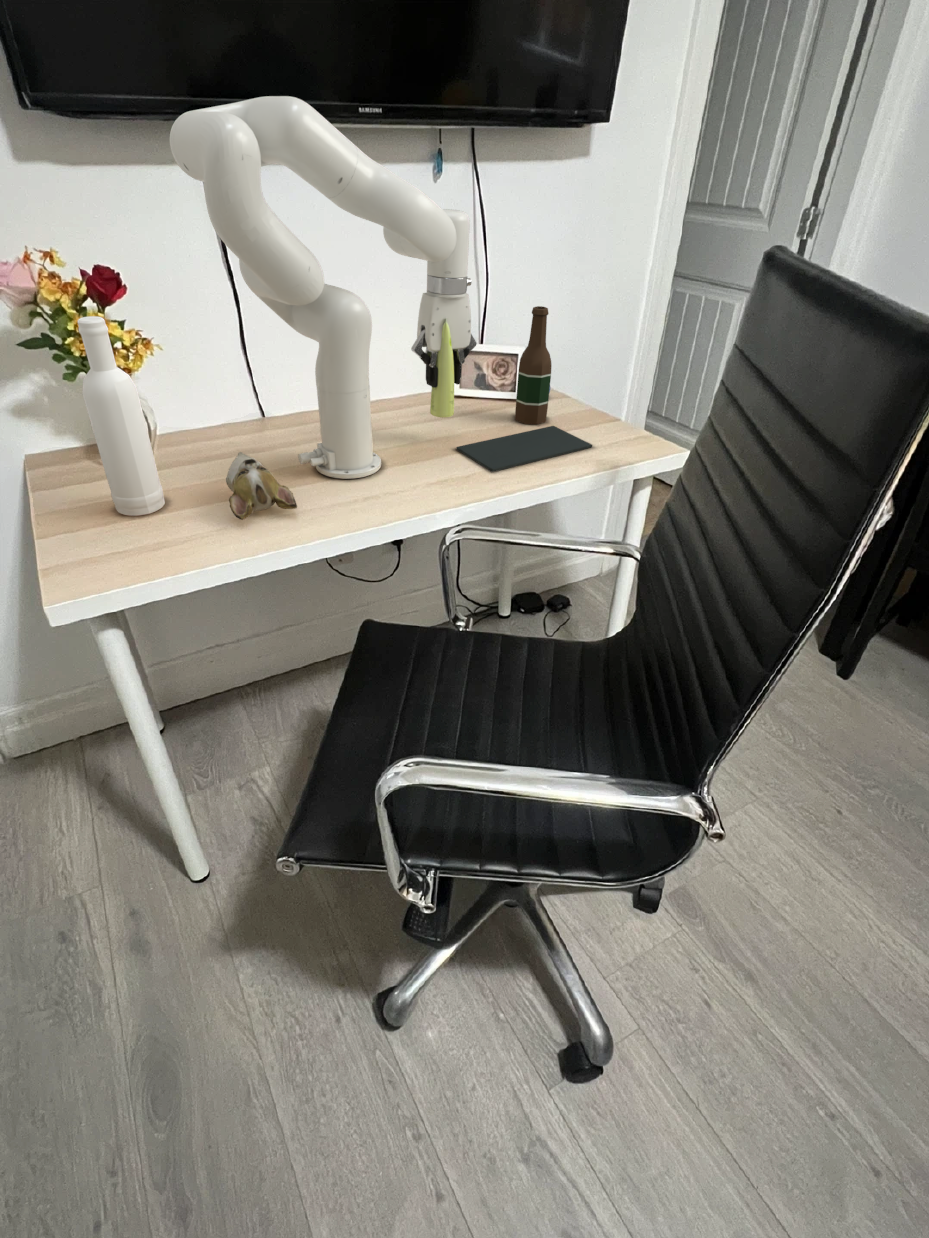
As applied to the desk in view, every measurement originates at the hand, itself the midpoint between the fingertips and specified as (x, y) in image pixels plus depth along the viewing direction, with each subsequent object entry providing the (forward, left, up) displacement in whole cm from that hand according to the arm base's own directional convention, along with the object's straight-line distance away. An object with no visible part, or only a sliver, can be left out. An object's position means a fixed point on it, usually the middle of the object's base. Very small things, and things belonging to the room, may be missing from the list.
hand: (443, 383), depth 139 cm
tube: (0, 0, -7) cm, 7 cm away
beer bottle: (+25, +1, -12) cm, 28 cm away
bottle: (-61, -1, -12) cm, 63 cm away
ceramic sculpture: (-44, -11, -12) cm, 47 cm away
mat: (+13, -12, -12) cm, 21 cm away
